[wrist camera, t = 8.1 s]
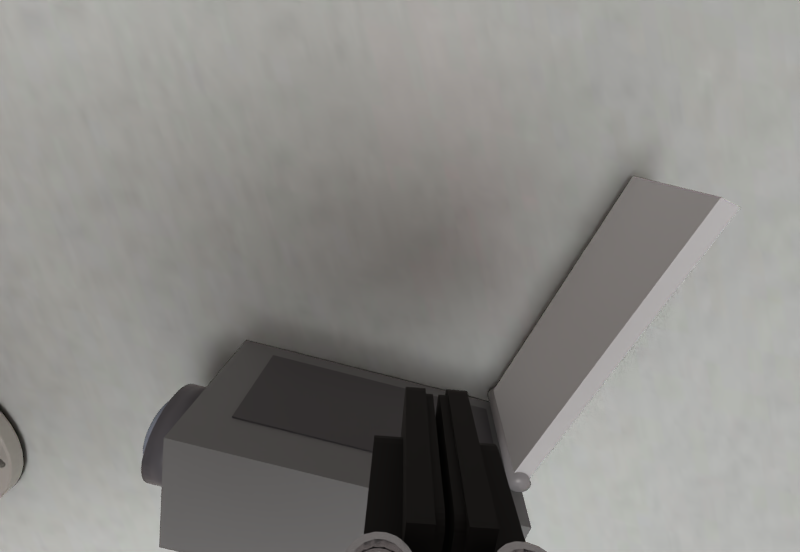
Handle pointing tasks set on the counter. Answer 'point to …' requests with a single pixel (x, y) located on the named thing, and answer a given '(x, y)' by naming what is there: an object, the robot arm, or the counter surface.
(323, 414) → the camera body
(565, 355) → the door
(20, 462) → the robot arm
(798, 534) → the counter surface
